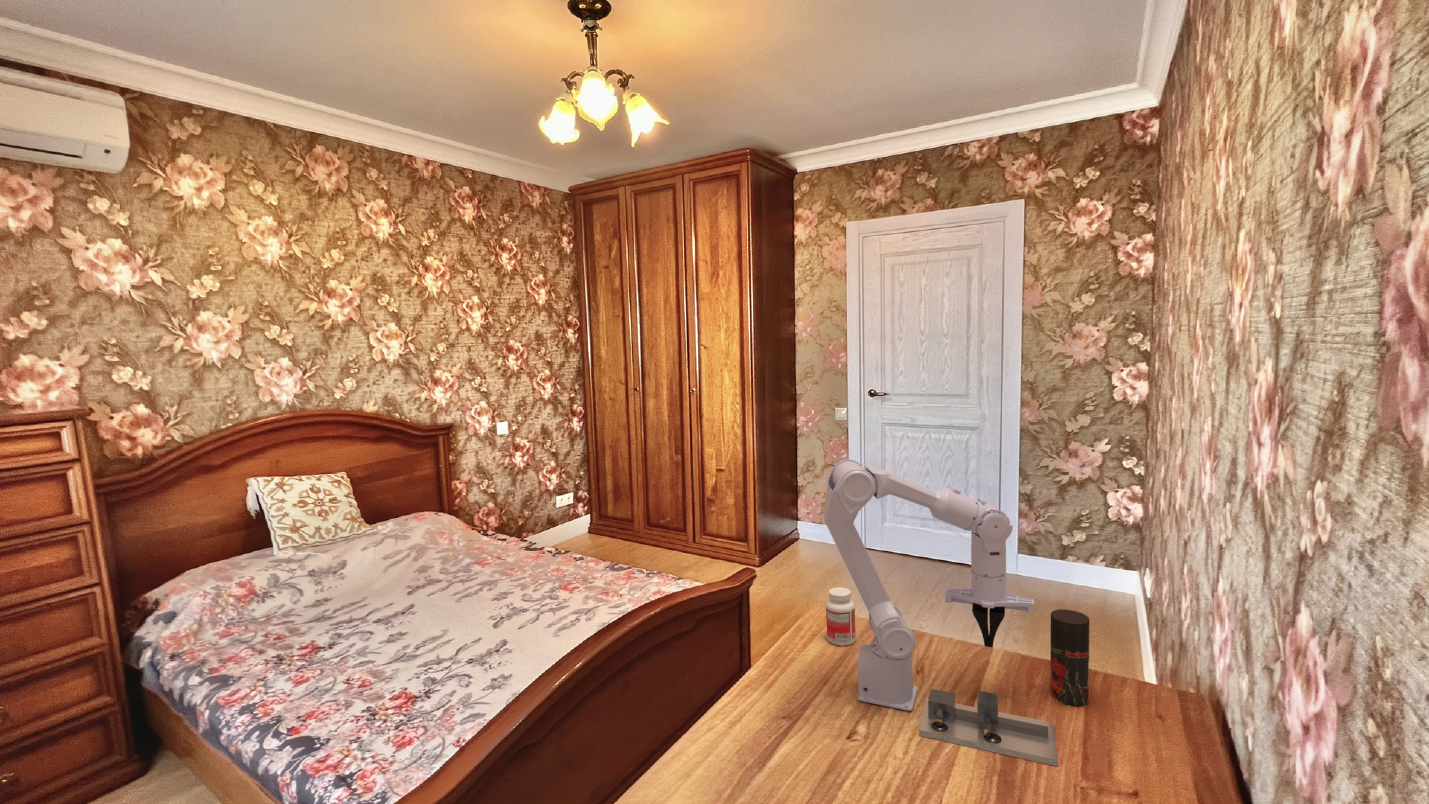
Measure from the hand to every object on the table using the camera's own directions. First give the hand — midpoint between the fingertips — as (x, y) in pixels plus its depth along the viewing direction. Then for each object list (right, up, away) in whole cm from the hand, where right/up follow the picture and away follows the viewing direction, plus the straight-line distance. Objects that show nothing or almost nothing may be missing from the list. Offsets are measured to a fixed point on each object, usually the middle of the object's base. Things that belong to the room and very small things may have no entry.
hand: (988, 644), depth 112 cm
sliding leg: (-5, -9, -10) cm, 15 cm away
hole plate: (-5, -11, -10) cm, 15 cm away
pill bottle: (-22, -9, +24) cm, 33 cm away
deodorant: (+14, -9, -1) cm, 17 cm away
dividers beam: (-5, -10, -10) cm, 15 cm away
